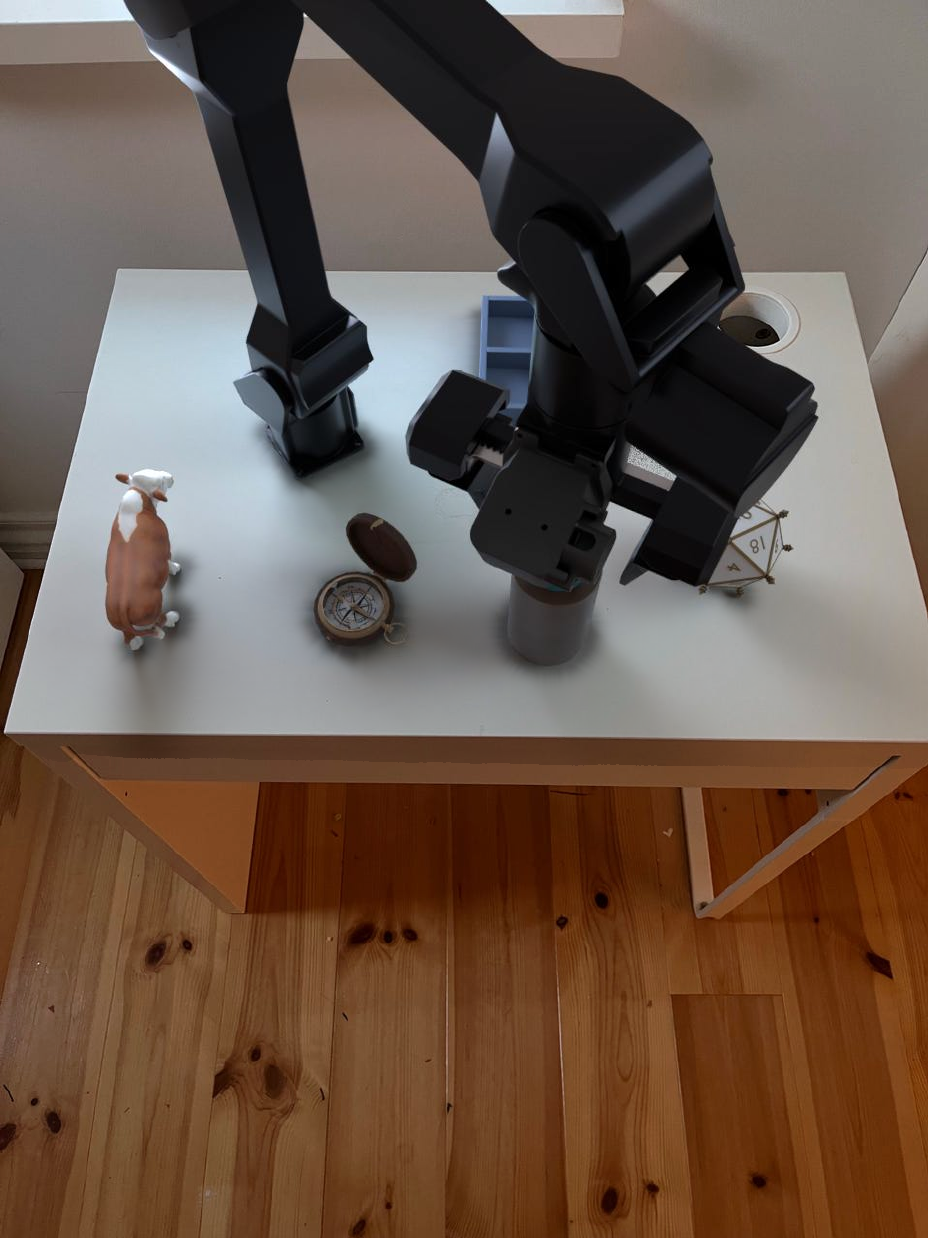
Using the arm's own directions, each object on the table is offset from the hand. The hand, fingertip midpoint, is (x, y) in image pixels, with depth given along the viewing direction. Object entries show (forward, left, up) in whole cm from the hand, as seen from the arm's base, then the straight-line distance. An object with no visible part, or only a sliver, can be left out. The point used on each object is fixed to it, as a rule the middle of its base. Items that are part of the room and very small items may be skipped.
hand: (559, 550), depth 58 cm
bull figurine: (-23, +19, -12) cm, 32 cm away
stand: (0, 0, -11) cm, 11 cm away
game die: (+14, -3, -12) cm, 19 cm away
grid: (+15, +21, -11) cm, 28 cm away
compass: (-10, +8, -12) cm, 18 cm away
